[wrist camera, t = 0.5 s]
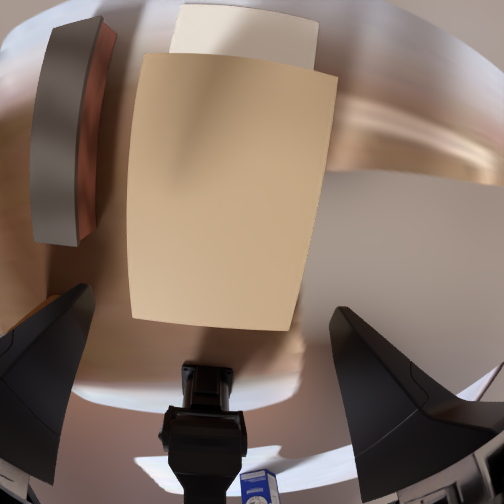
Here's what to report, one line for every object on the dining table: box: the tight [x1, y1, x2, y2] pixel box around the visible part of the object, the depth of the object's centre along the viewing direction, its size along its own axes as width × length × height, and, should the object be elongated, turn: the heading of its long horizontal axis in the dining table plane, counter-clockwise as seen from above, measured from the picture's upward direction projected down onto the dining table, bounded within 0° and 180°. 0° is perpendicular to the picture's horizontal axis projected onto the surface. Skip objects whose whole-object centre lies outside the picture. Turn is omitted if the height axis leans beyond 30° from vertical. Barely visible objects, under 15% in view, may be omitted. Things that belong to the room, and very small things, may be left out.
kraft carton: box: [127, 53, 338, 331], centre depth 18 cm, size 14×9×11 cm, turn 172°
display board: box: [169, 4, 319, 70], centre depth 21 cm, size 24×13×1 cm, turn 172°
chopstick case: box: [30, 16, 117, 247], centre depth 18 cm, size 20×5×5 cm, turn 172°
